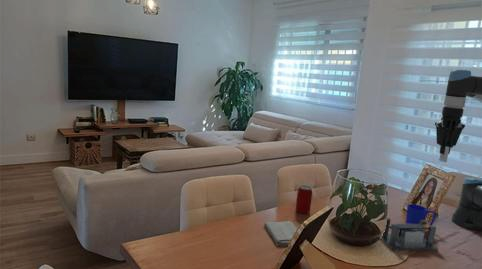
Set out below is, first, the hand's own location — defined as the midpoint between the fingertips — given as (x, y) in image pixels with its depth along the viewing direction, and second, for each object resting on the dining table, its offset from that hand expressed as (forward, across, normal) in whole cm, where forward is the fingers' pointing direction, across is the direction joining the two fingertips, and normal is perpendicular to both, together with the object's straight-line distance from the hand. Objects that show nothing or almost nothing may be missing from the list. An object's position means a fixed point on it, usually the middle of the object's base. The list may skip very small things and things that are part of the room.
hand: (442, 161), depth 152 cm
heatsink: (+32, +19, +11) cm, 39 cm away
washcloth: (+33, +69, +5) cm, 77 cm away
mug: (+33, +4, -2) cm, 33 cm away
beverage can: (+33, +53, -19) cm, 65 cm away
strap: (+26, +18, +11) cm, 34 cm away
